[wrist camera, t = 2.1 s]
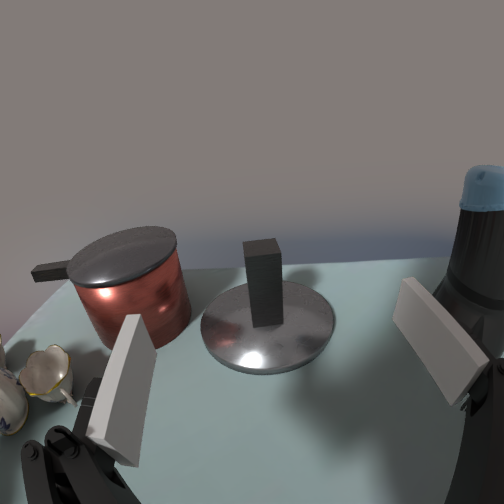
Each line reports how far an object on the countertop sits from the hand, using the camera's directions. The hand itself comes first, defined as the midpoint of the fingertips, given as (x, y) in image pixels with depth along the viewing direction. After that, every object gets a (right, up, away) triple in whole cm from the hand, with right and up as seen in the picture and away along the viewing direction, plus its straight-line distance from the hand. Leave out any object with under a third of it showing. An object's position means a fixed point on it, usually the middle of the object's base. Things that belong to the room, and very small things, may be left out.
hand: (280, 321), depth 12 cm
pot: (-23, -8, +27) cm, 36 cm away
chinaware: (-35, -18, +10) cm, 40 cm away
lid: (+1, -7, +24) cm, 25 cm away
